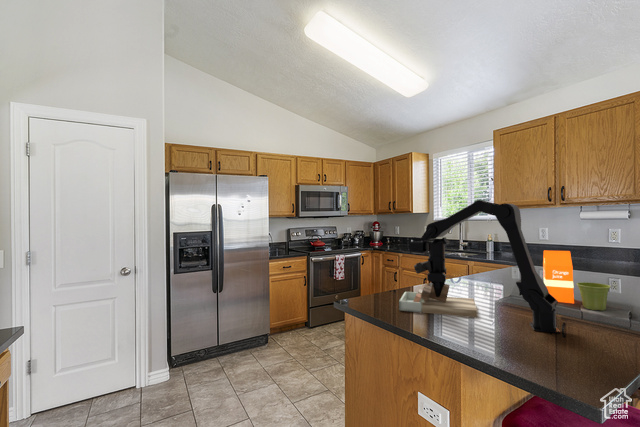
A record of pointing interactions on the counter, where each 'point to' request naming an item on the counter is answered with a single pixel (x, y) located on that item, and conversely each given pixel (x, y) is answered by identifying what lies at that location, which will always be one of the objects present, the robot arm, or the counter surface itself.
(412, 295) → the tray
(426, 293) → the brown stepped block
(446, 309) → the maple board
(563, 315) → the counter surface
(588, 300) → the plant pot
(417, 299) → the terracotta tile
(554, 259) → the orange juice
